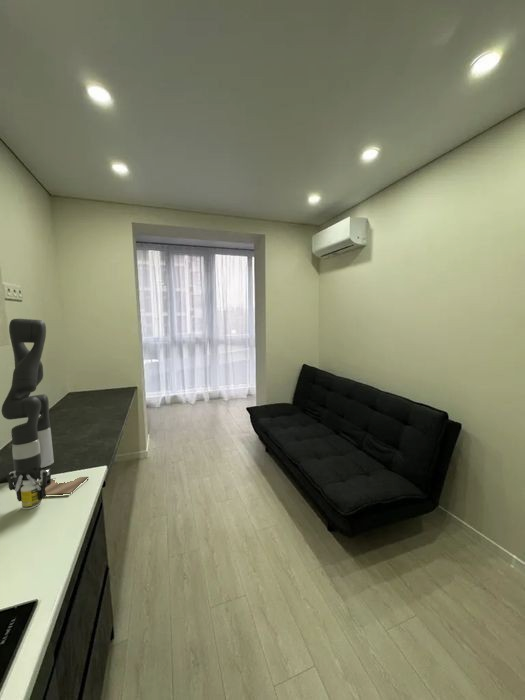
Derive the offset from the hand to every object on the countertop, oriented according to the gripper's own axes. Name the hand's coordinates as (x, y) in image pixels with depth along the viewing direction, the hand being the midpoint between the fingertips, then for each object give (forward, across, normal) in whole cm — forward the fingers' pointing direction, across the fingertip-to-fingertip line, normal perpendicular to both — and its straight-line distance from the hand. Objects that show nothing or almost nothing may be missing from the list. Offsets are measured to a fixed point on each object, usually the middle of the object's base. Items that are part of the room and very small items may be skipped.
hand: (31, 499), depth 103 cm
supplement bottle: (+2, 0, 0) cm, 2 cm away
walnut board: (+2, -1, -11) cm, 11 cm away
